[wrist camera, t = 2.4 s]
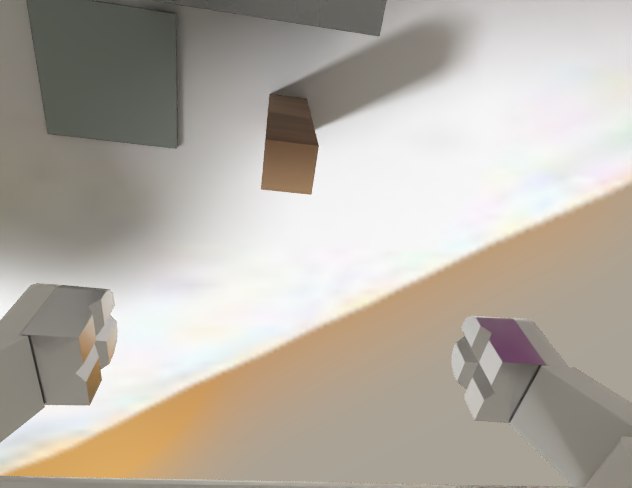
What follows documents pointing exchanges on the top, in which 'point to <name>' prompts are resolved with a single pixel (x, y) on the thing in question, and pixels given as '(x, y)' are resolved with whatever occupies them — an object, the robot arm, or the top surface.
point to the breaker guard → (305, 12)
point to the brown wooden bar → (289, 146)
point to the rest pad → (106, 70)
